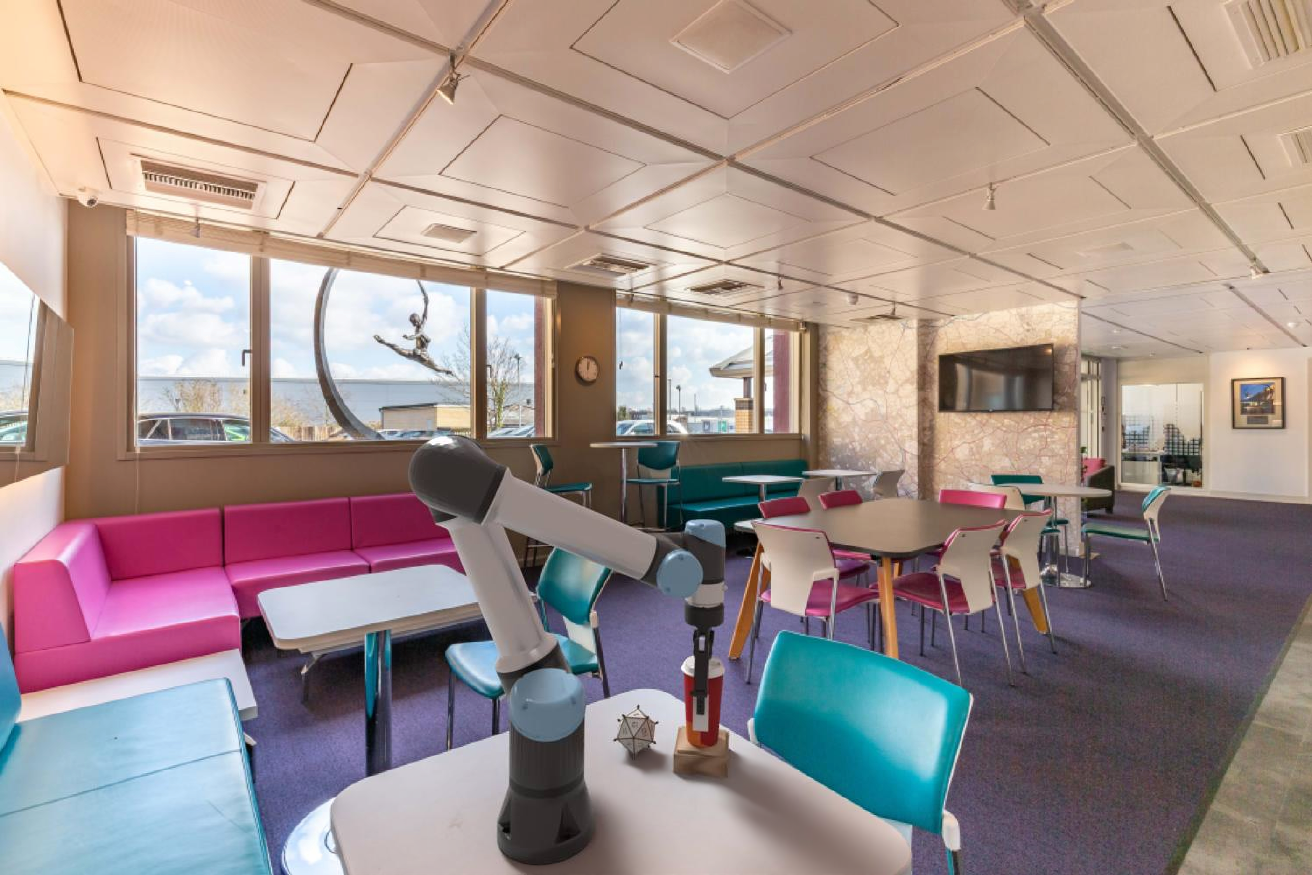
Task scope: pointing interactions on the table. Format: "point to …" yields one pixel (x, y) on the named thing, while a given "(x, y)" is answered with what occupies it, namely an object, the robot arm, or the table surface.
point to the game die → (636, 731)
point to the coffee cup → (713, 704)
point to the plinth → (701, 756)
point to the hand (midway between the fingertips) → (702, 712)
